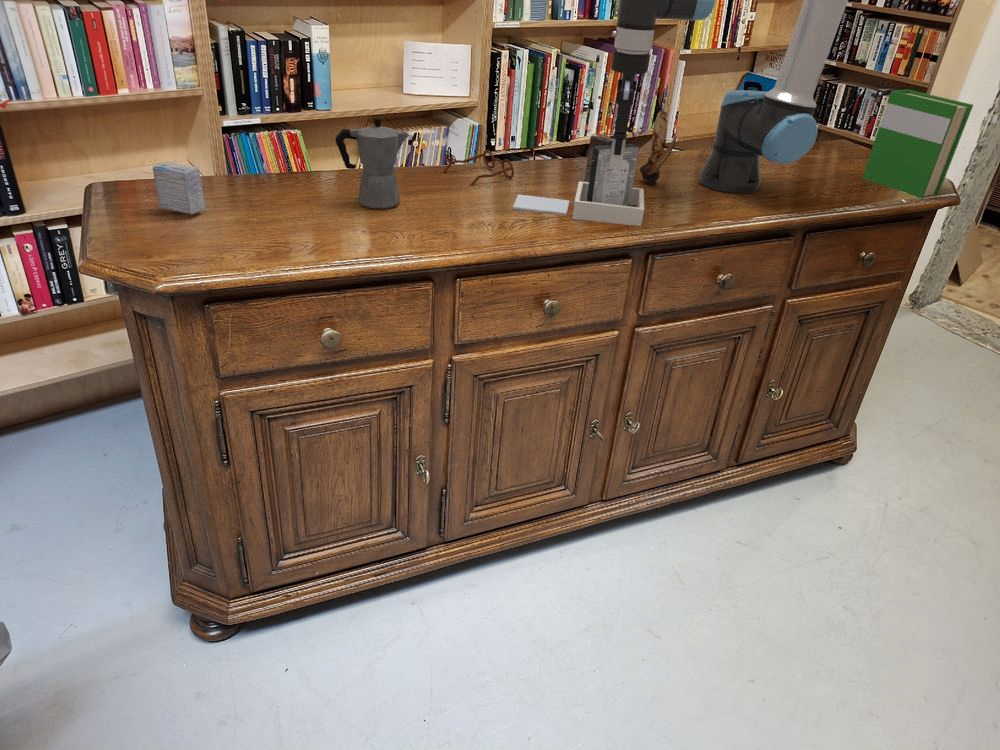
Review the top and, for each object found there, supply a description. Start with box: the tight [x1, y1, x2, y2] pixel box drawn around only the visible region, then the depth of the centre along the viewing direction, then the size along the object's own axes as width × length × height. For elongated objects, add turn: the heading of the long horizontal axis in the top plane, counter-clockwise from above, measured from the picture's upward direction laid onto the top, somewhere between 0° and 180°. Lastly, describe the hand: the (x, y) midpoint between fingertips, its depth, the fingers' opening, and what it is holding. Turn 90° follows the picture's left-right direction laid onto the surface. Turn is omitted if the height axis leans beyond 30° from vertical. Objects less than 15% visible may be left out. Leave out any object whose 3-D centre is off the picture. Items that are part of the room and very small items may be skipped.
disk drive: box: [586, 143, 640, 207], centre depth 164 cm, size 10×3×15 cm, turn 114°
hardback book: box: [861, 89, 974, 200], centre depth 192 cm, size 18×7×24 cm, turn 30°
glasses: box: [442, 149, 515, 187], centre depth 184 cm, size 13×13×5 cm
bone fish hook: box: [639, 110, 677, 185], centre depth 182 cm, size 9×5×18 cm, turn 14°
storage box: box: [572, 180, 645, 227], centre depth 167 cm, size 15×15×4 cm
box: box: [583, 134, 613, 182], centre depth 180 cm, size 6×4×12 cm
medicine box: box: [152, 161, 206, 215], centre depth 149 cm, size 8×4×9 cm, turn 71°
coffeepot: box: [335, 116, 410, 209], centre depth 158 cm, size 15×9×18 cm, turn 107°
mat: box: [512, 194, 570, 216], centre depth 168 cm, size 12×9×1 cm
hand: (615, 165), depth 162 cm, fingers open, 5 cm apart
